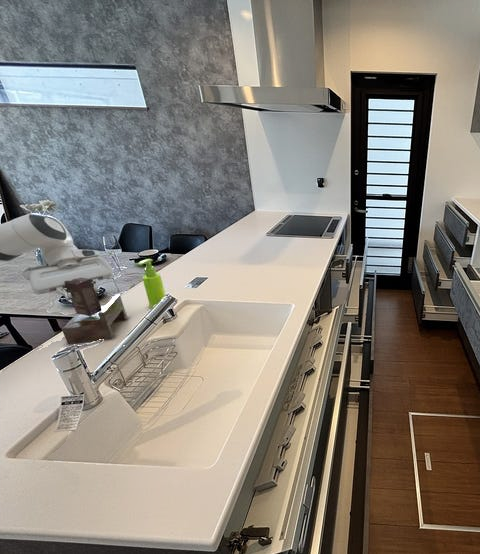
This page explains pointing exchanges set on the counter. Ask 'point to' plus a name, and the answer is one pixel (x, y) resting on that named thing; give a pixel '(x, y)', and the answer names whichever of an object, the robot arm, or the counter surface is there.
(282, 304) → the counter surface
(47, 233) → the robot arm
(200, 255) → the counter surface
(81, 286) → the box
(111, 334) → the dark square tray
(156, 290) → the soap dispenser
